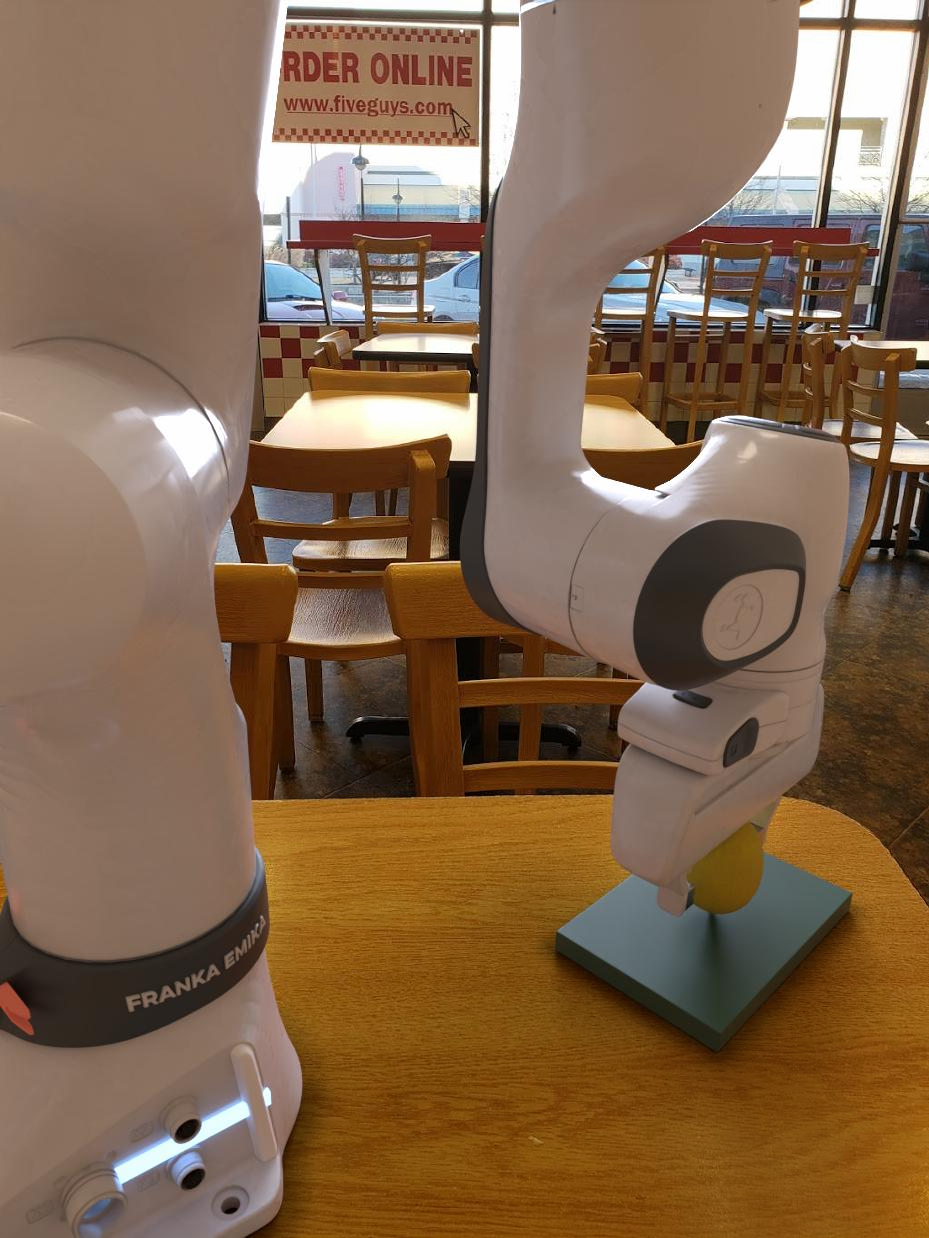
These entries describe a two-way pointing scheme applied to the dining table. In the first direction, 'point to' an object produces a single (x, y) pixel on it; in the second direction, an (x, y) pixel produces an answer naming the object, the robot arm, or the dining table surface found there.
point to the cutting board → (704, 947)
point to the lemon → (729, 873)
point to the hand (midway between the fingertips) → (713, 875)
